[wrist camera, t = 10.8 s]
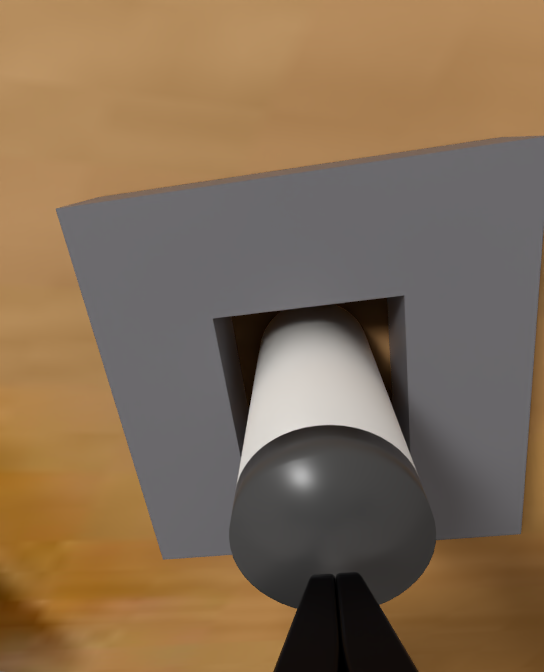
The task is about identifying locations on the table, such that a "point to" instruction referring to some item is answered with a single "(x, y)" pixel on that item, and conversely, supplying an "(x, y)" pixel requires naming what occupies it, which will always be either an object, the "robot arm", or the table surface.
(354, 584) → the robot arm
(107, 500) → the table surface
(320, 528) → the plug
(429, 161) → the socket block
